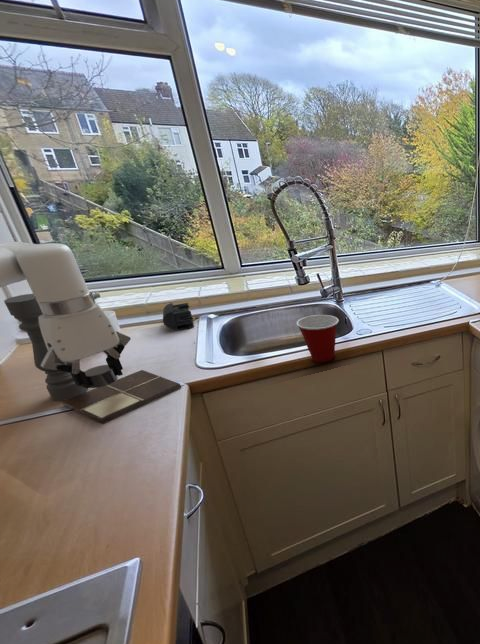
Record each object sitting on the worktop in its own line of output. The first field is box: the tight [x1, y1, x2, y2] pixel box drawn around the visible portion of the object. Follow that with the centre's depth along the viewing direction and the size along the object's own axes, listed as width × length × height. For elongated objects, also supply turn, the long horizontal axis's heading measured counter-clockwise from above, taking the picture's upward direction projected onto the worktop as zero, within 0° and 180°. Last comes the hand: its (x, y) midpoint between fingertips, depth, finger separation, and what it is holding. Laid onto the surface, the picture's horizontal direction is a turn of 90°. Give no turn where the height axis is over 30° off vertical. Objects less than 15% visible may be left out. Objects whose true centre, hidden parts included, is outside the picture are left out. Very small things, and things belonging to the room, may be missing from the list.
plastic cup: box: [296, 314, 340, 363], centre depth 116 cm, size 11×11×12 cm
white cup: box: [103, 309, 123, 334], centre depth 120 cm, size 8×8×10 cm
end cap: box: [162, 302, 195, 331], centre depth 135 cm, size 10×7×7 cm
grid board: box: [61, 369, 182, 425], centre depth 98 cm, size 16×16×1 cm
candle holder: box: [3, 293, 89, 402], centre depth 94 cm, size 6×6×25 cm
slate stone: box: [84, 364, 119, 389], centre depth 90 cm, size 5×5×3 cm
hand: (101, 379), depth 91 cm, fingers closed on slate stone, 5 cm apart
